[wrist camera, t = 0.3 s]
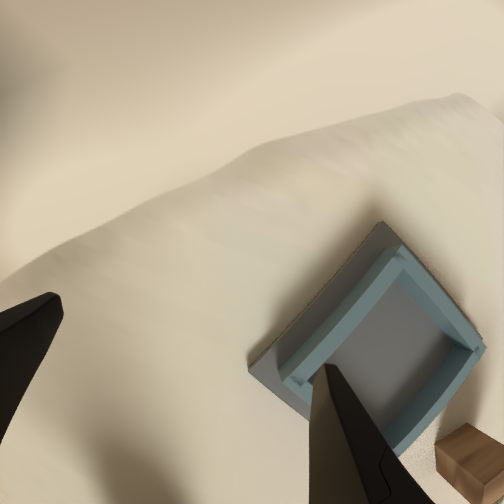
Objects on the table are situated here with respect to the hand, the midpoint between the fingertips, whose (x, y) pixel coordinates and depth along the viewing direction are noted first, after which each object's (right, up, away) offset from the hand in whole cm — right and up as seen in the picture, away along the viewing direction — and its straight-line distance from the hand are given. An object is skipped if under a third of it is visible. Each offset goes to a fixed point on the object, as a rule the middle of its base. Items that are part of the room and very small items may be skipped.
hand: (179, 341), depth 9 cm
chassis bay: (+13, -6, +15) cm, 21 cm away
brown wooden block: (+24, -18, +14) cm, 33 cm away
